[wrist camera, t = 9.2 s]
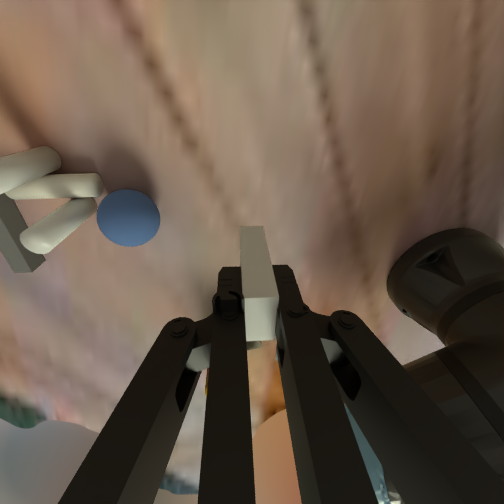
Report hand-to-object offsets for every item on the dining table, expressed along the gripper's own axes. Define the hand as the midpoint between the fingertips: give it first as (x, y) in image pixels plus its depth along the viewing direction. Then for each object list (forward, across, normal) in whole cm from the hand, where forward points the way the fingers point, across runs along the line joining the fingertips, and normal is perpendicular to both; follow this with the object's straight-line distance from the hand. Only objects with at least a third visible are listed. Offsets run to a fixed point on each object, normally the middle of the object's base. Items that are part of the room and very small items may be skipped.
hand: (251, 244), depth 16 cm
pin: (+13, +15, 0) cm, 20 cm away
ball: (+11, +12, +3) cm, 17 cm away
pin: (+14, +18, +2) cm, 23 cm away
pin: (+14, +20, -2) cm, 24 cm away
